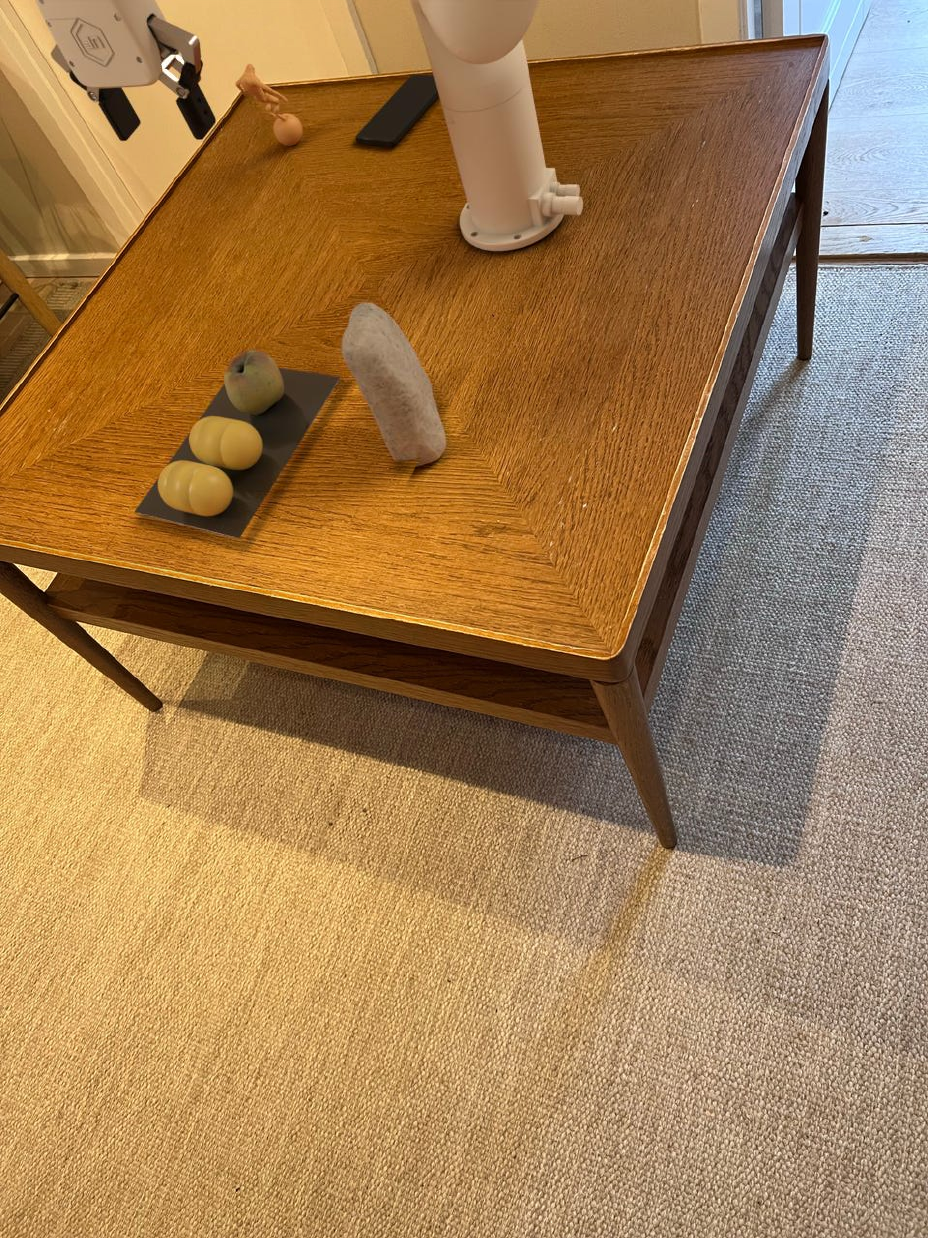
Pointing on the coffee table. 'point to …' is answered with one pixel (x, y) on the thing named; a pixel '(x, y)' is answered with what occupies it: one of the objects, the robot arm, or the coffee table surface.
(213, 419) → the yellow lobed bun
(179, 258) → the coffee table surface
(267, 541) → the coffee table surface
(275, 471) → the serving board
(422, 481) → the coffee table surface
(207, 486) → the bread roll
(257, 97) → the figurine
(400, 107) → the smartphone
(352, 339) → the decorative stone
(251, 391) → the apple
